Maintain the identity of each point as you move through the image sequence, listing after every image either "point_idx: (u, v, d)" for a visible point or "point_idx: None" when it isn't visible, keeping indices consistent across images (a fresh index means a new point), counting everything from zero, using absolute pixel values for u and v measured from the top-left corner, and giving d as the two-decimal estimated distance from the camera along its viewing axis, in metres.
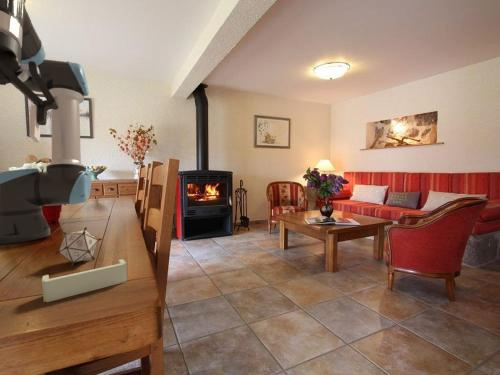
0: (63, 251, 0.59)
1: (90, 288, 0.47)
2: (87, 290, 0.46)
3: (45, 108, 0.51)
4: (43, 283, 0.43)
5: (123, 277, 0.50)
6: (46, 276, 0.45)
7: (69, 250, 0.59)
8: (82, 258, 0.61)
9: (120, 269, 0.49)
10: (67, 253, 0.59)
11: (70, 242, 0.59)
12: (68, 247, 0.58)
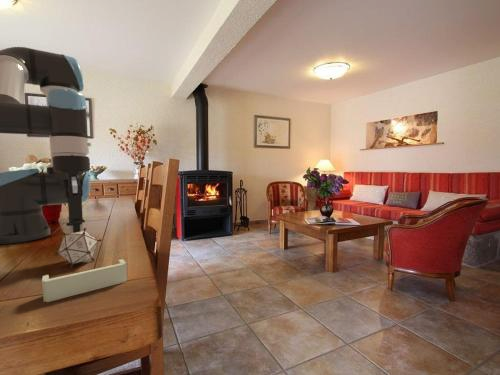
0: (62, 253, 0.58)
1: (90, 288, 0.47)
2: (87, 290, 0.46)
3: None
4: (43, 283, 0.43)
5: (123, 277, 0.50)
6: (46, 276, 0.45)
7: (69, 252, 0.58)
8: (82, 259, 0.60)
9: (120, 269, 0.49)
10: (66, 254, 0.58)
11: (70, 243, 0.58)
12: (67, 249, 0.57)
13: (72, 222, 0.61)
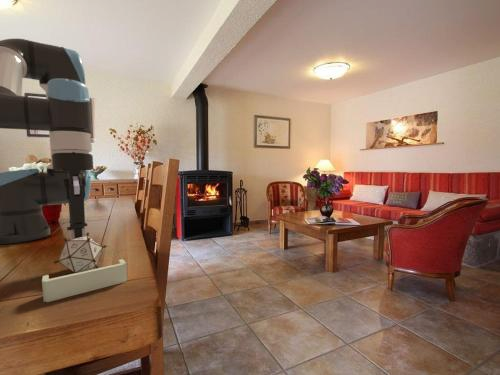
0: (64, 261, 0.53)
1: (90, 288, 0.47)
2: (87, 290, 0.46)
3: None
4: (43, 283, 0.43)
5: (123, 277, 0.50)
6: (46, 276, 0.45)
7: (72, 260, 0.52)
8: (85, 268, 0.55)
9: (120, 269, 0.49)
10: (69, 263, 0.52)
11: (73, 250, 0.52)
12: (71, 256, 0.52)
13: (73, 226, 0.56)
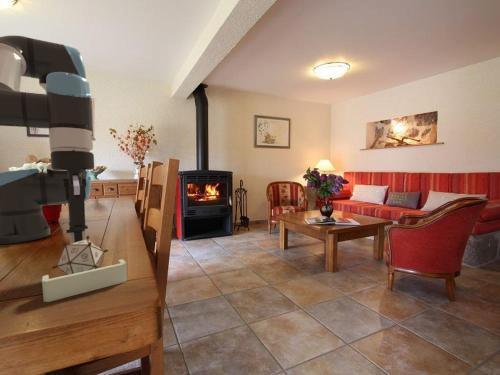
0: (63, 266, 0.49)
1: (90, 288, 0.47)
2: (87, 290, 0.46)
3: None
4: (43, 283, 0.43)
5: (123, 277, 0.50)
6: (46, 276, 0.45)
7: (72, 266, 0.49)
8: None
9: (120, 269, 0.49)
10: (69, 269, 0.49)
11: (73, 256, 0.49)
12: (71, 262, 0.48)
13: (73, 229, 0.52)
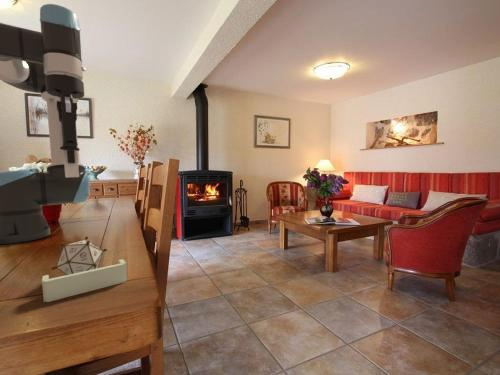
0: (62, 267, 0.50)
1: (90, 288, 0.47)
2: (87, 290, 0.46)
3: None
4: (43, 283, 0.43)
5: (123, 277, 0.50)
6: (46, 276, 0.45)
7: (71, 265, 0.49)
8: None
9: (120, 269, 0.49)
10: (68, 268, 0.49)
11: (72, 255, 0.49)
12: (69, 261, 0.49)
13: (66, 144, 0.59)
